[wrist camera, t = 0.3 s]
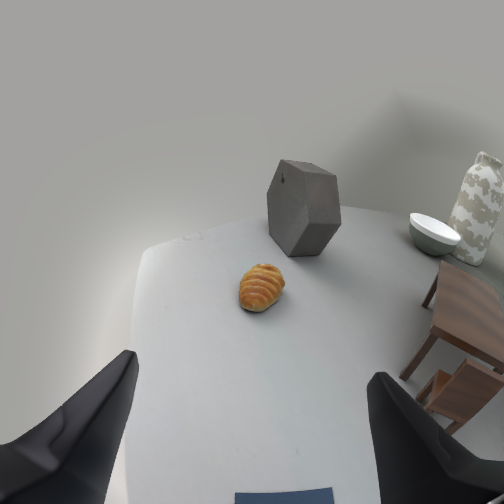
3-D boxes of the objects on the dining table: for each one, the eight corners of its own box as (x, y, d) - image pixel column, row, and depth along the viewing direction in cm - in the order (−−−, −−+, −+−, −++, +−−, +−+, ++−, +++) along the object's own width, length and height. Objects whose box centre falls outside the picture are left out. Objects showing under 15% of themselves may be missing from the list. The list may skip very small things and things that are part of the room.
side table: (468, 414, 24) (512, 367, 19) (395, 378, 31) (433, 324, 26) (472, 329, 42) (496, 289, 37) (420, 301, 49) (441, 259, 44)
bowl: (432, 240, 84) (440, 219, 80) (460, 267, 68) (471, 244, 64) (392, 231, 83) (400, 208, 79) (420, 260, 66) (431, 233, 63)
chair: (440, 443, 21) (505, 383, 15) (405, 427, 24) (466, 362, 18) (448, 410, 25) (502, 349, 20) (416, 394, 28) (467, 329, 23)
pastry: (272, 321, 39) (277, 300, 37) (227, 307, 40) (230, 286, 38) (284, 286, 47) (289, 267, 45) (246, 276, 48) (250, 256, 47)
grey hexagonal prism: (343, 252, 51) (333, 150, 52) (310, 254, 49) (300, 144, 50) (299, 256, 67) (293, 174, 68) (270, 258, 64) (265, 171, 65)
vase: (487, 271, 70) (523, 169, 51) (450, 258, 72) (487, 146, 54) (466, 247, 87) (495, 159, 69) (432, 234, 90) (460, 140, 72)
